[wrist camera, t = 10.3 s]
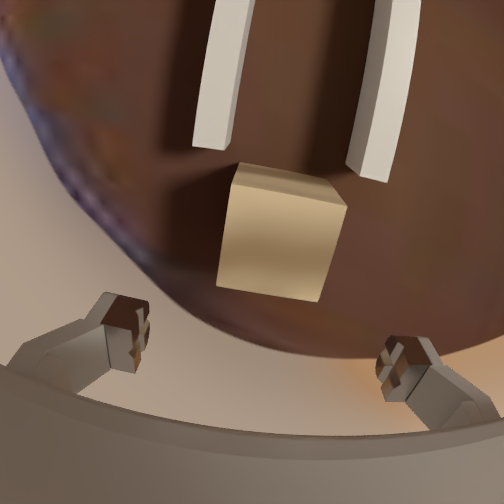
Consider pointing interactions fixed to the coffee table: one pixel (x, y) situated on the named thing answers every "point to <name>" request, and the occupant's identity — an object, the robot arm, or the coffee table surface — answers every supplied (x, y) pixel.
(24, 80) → the coffee table surface
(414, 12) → the channel
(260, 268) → the block
